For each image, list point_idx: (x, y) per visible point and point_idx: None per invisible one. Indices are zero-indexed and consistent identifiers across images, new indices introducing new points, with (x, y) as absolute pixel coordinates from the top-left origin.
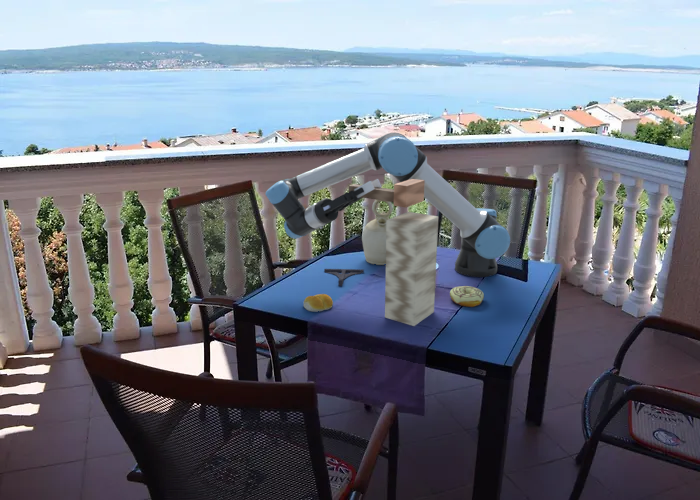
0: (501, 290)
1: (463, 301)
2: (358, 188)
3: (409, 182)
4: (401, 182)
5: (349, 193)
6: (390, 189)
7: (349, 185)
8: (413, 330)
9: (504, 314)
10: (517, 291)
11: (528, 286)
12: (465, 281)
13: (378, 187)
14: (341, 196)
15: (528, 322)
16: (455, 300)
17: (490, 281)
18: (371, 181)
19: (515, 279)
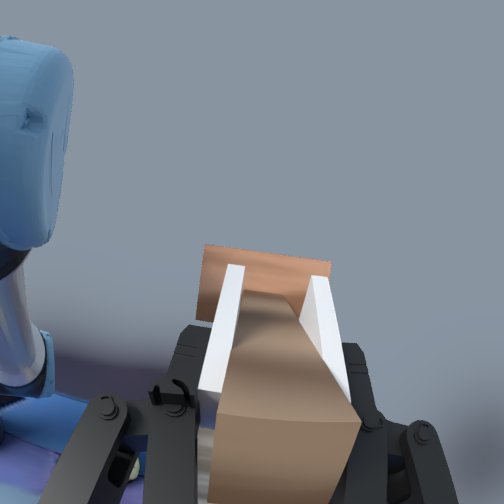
0: (57, 426)
1: (139, 466)
2: (340, 366)
3: (271, 253)
4: (289, 256)
5: (381, 443)
6: (252, 301)
7: (349, 418)
8: None
9: None
10: (60, 413)
11: (41, 400)
12: (20, 456)
13: (242, 316)
14: (444, 477)
15: None
16: (135, 476)
17: (21, 429)
18: (310, 280)
19: (15, 404)
